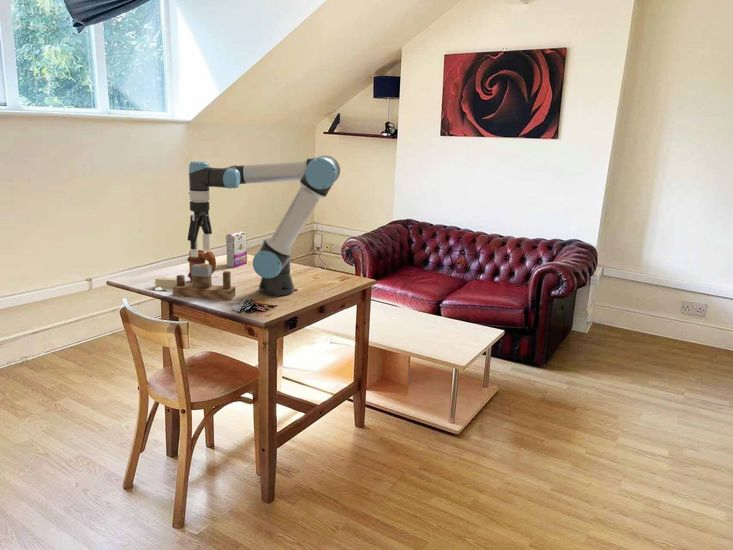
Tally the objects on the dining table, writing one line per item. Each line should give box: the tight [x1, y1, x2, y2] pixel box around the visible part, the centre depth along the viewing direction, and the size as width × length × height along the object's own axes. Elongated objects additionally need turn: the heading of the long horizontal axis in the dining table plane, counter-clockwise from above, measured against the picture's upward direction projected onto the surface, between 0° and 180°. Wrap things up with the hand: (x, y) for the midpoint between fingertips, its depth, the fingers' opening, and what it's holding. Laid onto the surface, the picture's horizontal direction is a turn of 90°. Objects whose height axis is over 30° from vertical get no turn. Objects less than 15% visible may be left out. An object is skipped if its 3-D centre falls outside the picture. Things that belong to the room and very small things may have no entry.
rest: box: [154, 276, 177, 292], centre depth 245 cm, size 10×10×4 cm
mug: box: [187, 249, 217, 283], centre depth 253 cm, size 15×8×15 cm, turn 62°
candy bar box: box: [225, 231, 248, 269], centre depth 286 cm, size 11×5×16 cm, turn 157°
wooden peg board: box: [172, 270, 237, 302], centre depth 235 cm, size 24×7×11 cm, turn 85°
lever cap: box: [191, 263, 213, 277], centre depth 233 cm, size 7×4×5 cm, turn 85°
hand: (200, 253), depth 231 cm, fingers open, 13 cm apart
